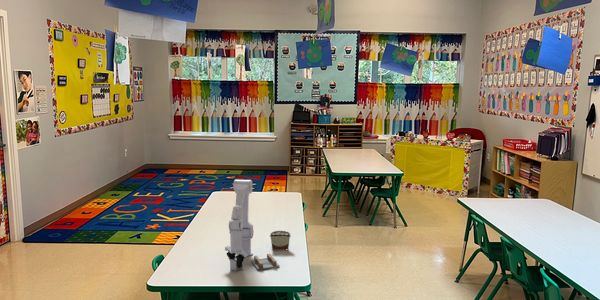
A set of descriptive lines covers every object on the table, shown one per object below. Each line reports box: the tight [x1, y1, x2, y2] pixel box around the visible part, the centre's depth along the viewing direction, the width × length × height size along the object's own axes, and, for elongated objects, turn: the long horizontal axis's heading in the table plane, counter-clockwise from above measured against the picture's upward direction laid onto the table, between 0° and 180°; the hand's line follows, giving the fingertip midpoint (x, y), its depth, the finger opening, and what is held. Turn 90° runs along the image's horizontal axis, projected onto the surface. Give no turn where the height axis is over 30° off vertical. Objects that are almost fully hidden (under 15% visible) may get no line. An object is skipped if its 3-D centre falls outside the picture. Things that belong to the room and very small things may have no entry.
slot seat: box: [250, 253, 280, 272], centre depth 239 cm, size 12×12×4 cm
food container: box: [269, 230, 292, 251], centre depth 262 cm, size 12×6×10 cm, turn 92°
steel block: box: [229, 256, 243, 273], centre depth 232 cm, size 4×4×6 cm
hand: (236, 266), depth 233 cm, fingers closed on steel block, 4 cm apart
